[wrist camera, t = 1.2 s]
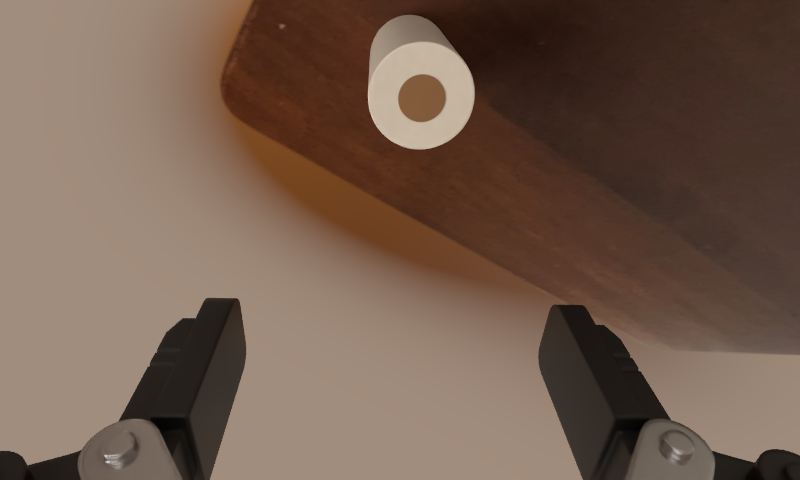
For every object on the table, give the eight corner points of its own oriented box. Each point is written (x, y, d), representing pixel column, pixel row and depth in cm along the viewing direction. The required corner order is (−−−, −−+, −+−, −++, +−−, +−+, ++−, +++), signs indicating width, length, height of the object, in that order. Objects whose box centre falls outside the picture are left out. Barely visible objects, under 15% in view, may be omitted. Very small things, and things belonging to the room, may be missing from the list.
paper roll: (371, 11, 30) (370, 37, 21) (452, 17, 30) (483, 45, 21) (368, 94, 32) (365, 147, 24) (443, 99, 33) (467, 152, 24)
